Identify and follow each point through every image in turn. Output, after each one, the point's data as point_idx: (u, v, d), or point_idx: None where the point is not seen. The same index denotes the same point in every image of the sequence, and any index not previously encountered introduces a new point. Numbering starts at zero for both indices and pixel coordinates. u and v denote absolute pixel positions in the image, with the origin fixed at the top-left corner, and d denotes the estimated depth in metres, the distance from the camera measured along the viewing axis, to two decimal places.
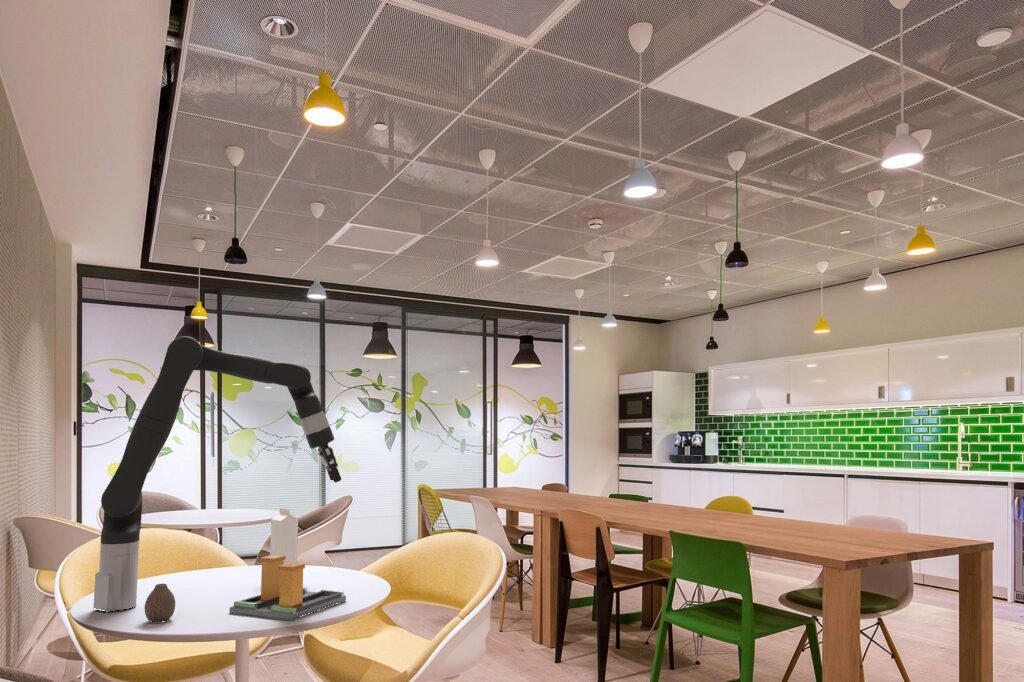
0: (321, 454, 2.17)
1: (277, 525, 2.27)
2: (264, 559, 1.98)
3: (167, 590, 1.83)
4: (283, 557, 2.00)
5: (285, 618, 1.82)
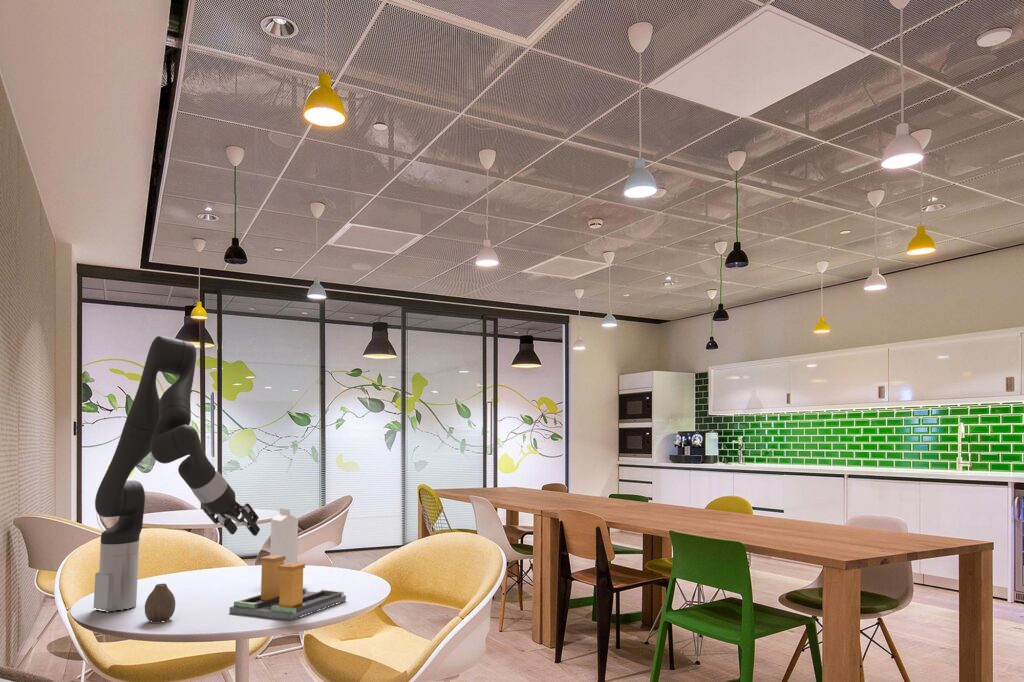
0: None
1: (277, 525, 2.27)
2: (264, 559, 1.98)
3: (167, 590, 1.83)
4: (283, 557, 2.00)
5: (285, 618, 1.82)
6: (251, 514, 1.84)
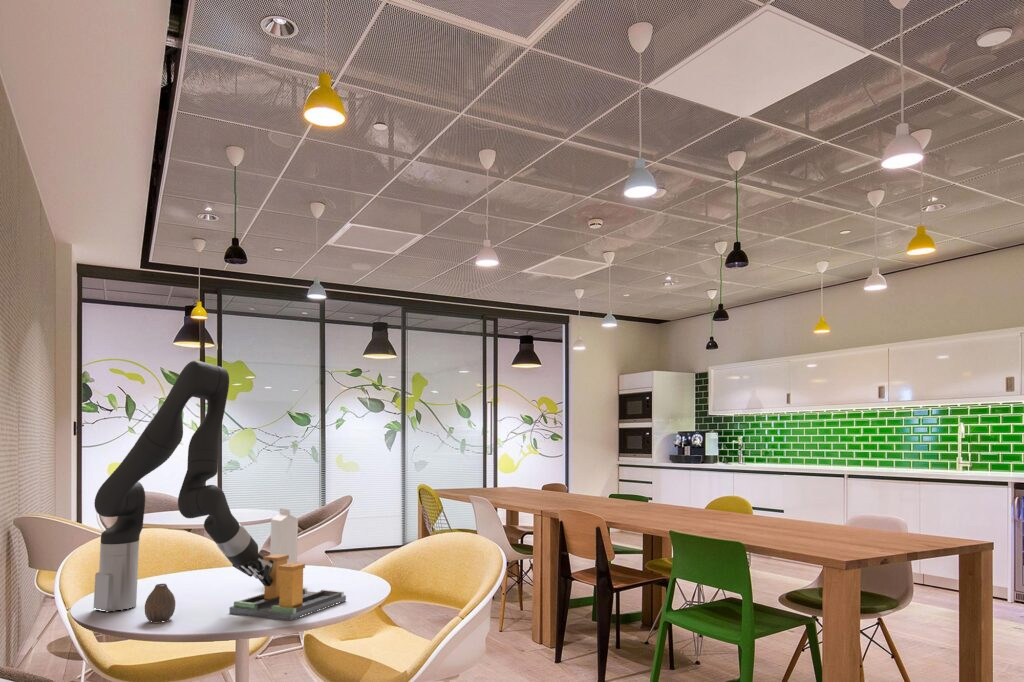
0: None
1: (277, 525, 2.27)
2: (267, 558, 1.99)
3: (167, 590, 1.83)
4: (286, 556, 2.01)
5: (285, 618, 1.82)
6: (270, 569, 1.92)
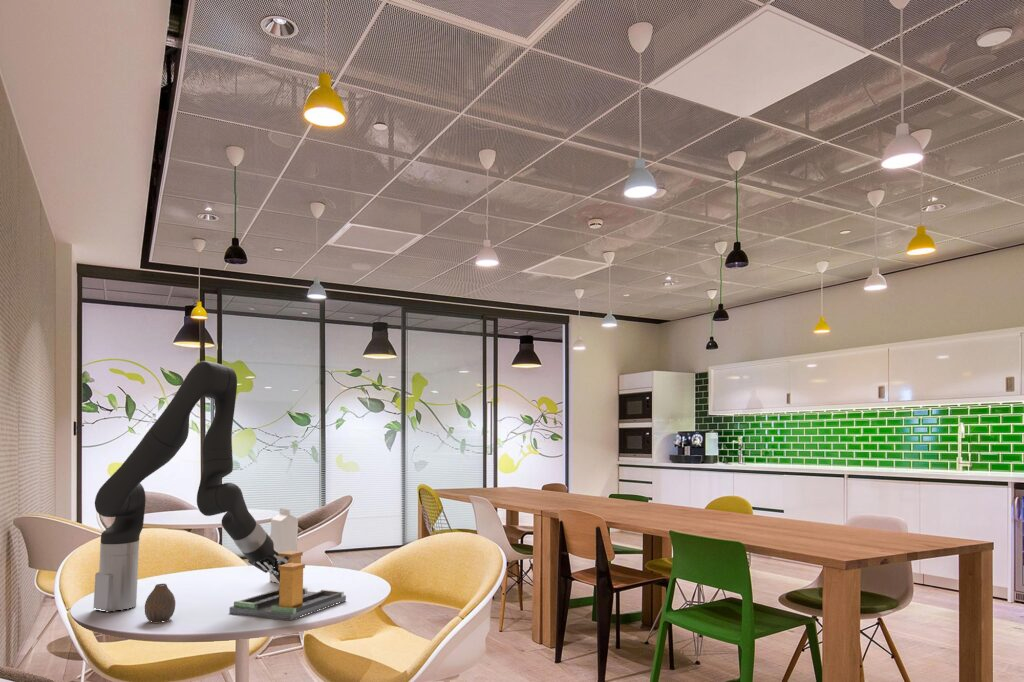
0: None
1: (277, 525, 2.27)
2: (282, 555, 2.04)
3: (167, 590, 1.83)
4: (300, 553, 2.06)
5: (285, 618, 1.82)
6: None
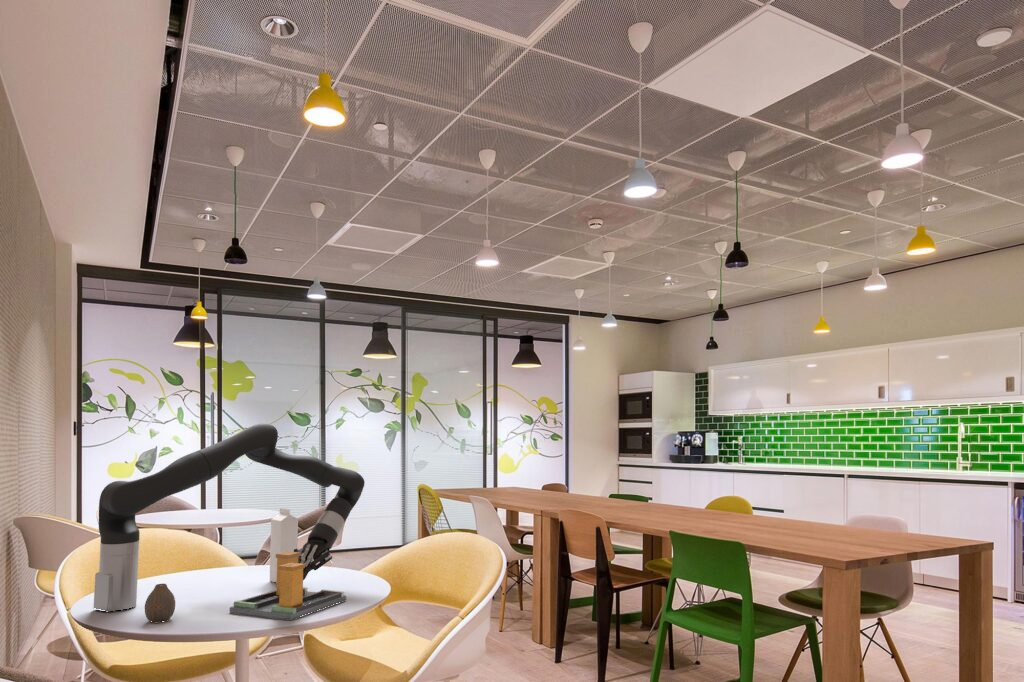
0: None
1: (277, 525, 2.27)
2: (279, 555, 2.03)
3: (167, 590, 1.83)
4: (298, 553, 2.05)
5: (285, 618, 1.82)
6: (322, 561, 2.09)
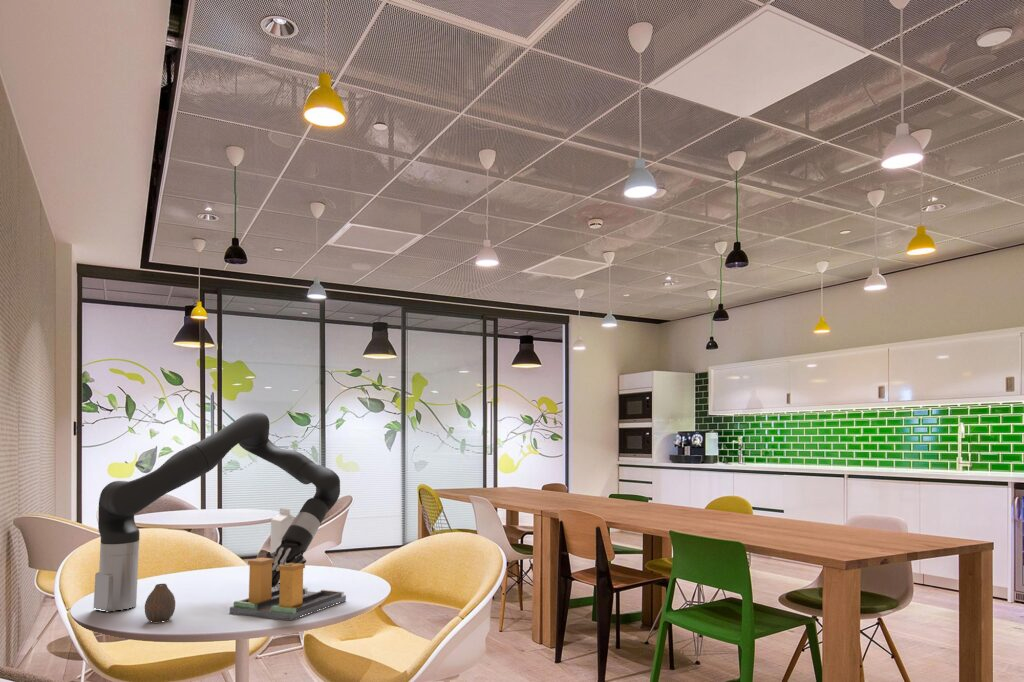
0: None
1: (277, 525, 2.27)
2: (252, 562, 1.94)
3: (167, 590, 1.83)
4: (271, 560, 1.96)
5: (285, 618, 1.82)
6: None
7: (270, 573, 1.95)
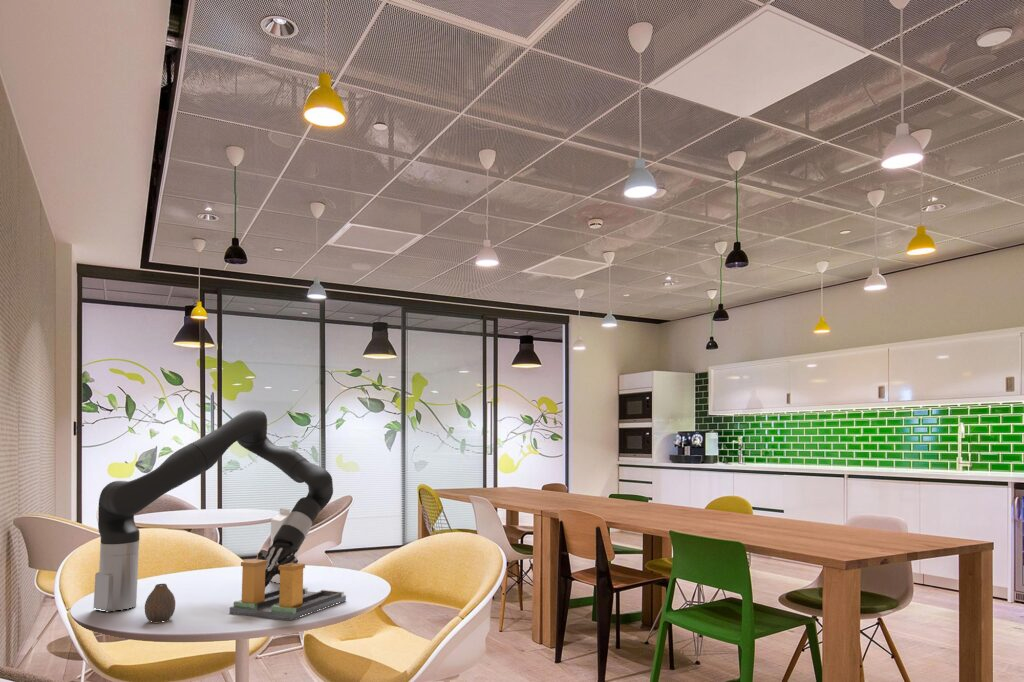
0: None
1: (277, 525, 2.27)
2: (245, 564, 1.91)
3: (167, 590, 1.83)
4: (265, 561, 1.93)
5: (285, 618, 1.82)
6: None
7: (263, 575, 1.93)
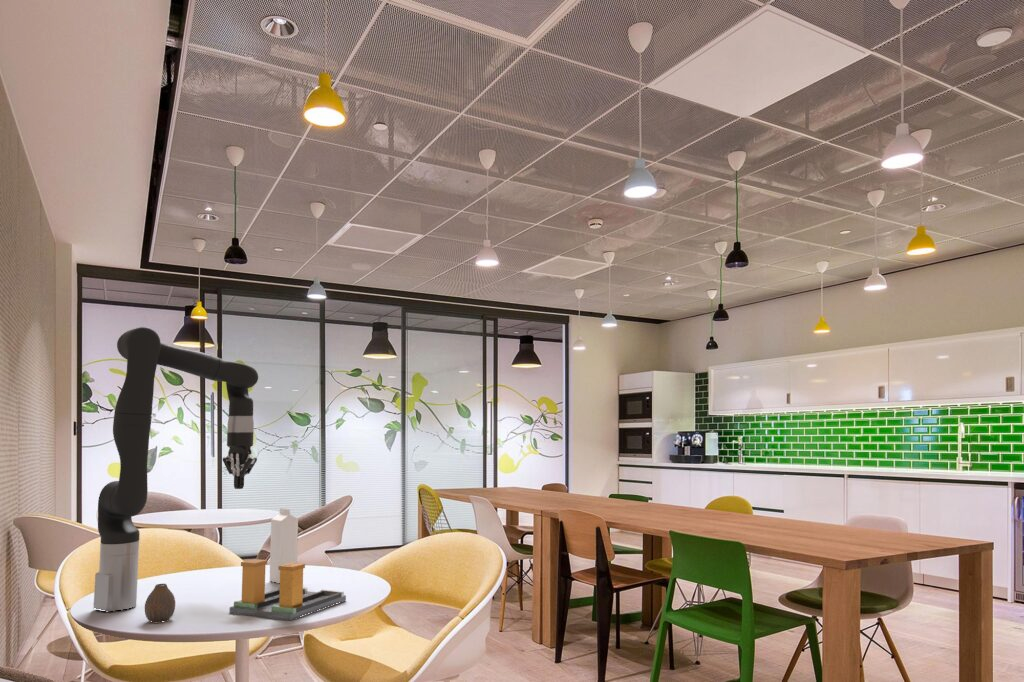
0: None
1: (277, 525, 2.27)
2: (245, 564, 1.91)
3: (167, 590, 1.83)
4: (265, 561, 1.93)
5: (285, 618, 1.82)
6: (250, 466, 2.22)
7: (263, 575, 1.93)
